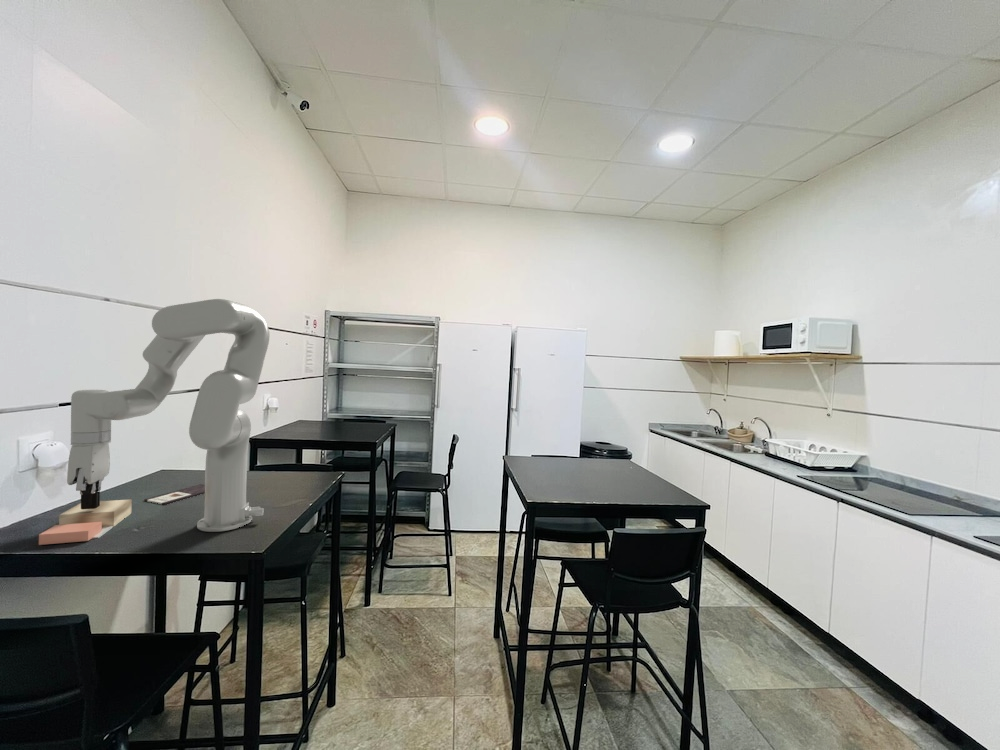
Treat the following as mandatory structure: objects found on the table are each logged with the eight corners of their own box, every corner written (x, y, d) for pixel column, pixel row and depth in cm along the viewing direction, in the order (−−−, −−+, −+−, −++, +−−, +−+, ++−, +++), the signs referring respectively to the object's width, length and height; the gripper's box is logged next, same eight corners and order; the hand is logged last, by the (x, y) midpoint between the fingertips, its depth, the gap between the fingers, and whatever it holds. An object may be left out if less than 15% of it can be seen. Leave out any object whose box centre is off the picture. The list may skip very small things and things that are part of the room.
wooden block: (131, 513, 120) (131, 499, 120) (113, 526, 111) (114, 511, 111) (81, 516, 117) (81, 502, 116) (59, 530, 107) (59, 515, 107)
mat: (112, 527, 111) (112, 526, 111) (98, 538, 104) (98, 536, 104) (57, 531, 107) (57, 530, 107) (39, 543, 100) (39, 541, 100)
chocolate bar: (220, 487, 145) (165, 503, 128) (220, 490, 145) (165, 506, 128) (200, 484, 148) (144, 499, 131) (200, 486, 148) (144, 502, 131)
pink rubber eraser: (88, 530, 102) (88, 540, 102) (101, 521, 107) (101, 531, 107) (38, 534, 99) (38, 544, 99) (55, 525, 104) (55, 534, 104)
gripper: (88, 433, 116) (87, 500, 116) (54, 443, 102) (53, 519, 102) (123, 432, 118) (122, 497, 119) (94, 442, 104) (93, 516, 105)
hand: (90, 507), depth 110 cm, fingers closed
